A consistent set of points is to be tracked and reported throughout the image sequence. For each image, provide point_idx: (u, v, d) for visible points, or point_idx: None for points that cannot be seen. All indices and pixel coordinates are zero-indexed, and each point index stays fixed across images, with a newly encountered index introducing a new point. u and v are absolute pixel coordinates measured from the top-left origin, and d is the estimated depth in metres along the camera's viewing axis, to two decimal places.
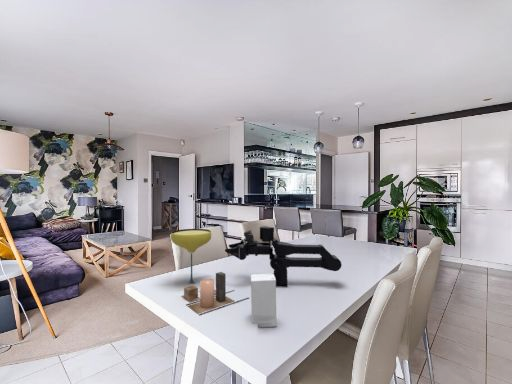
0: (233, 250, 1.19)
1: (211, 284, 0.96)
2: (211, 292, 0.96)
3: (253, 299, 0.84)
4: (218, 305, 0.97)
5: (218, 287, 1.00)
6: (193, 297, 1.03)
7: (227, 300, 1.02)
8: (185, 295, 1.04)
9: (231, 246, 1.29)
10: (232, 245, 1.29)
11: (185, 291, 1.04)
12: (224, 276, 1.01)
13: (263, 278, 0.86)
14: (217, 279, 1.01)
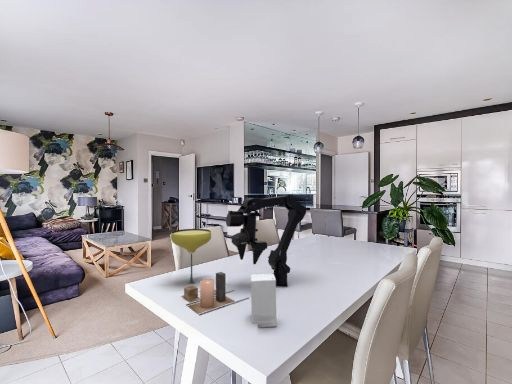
0: (256, 255, 1.11)
1: (211, 284, 0.96)
2: (211, 292, 0.96)
3: (253, 299, 0.84)
4: (218, 305, 0.97)
5: (218, 287, 1.00)
6: (193, 297, 1.03)
7: (227, 300, 1.02)
8: (185, 295, 1.04)
9: (242, 256, 1.19)
10: (241, 255, 1.19)
11: (185, 291, 1.04)
12: (224, 276, 1.01)
13: (263, 278, 0.86)
14: (217, 279, 1.01)
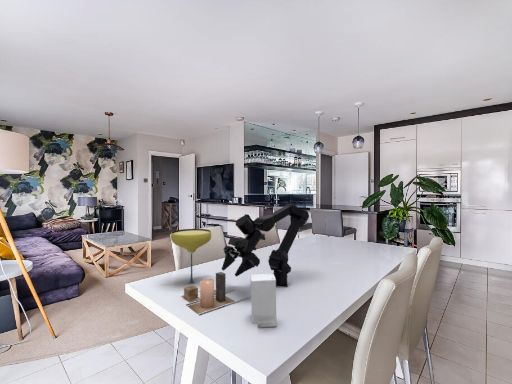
0: (243, 267, 1.01)
1: (211, 284, 0.96)
2: (211, 292, 0.96)
3: (253, 299, 0.84)
4: (218, 305, 0.97)
5: (218, 287, 1.00)
6: (193, 297, 1.03)
7: (227, 300, 1.02)
8: (185, 295, 1.04)
9: (224, 267, 1.08)
10: (224, 265, 1.08)
11: (185, 291, 1.04)
12: (224, 276, 1.01)
13: (263, 278, 0.86)
14: (217, 279, 1.01)
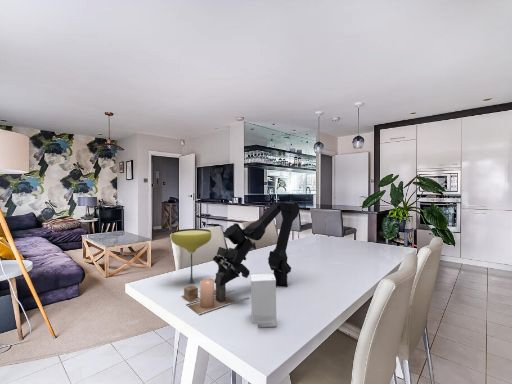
0: (227, 276, 1.00)
1: (211, 284, 0.96)
2: (211, 292, 0.96)
3: (253, 299, 0.84)
4: (218, 305, 0.97)
5: (218, 287, 1.00)
6: (193, 297, 1.03)
7: (227, 300, 1.02)
8: (185, 295, 1.04)
9: None
10: None
11: (185, 291, 1.04)
12: None
13: (263, 278, 0.86)
14: (217, 279, 1.01)
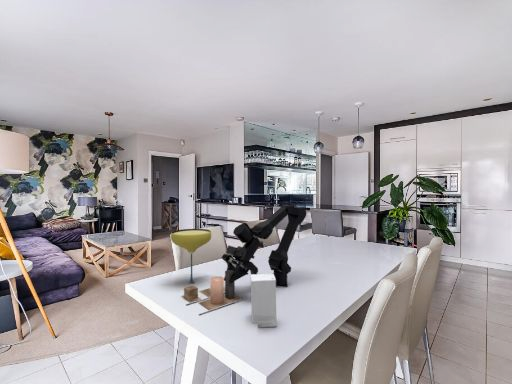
0: (236, 274, 1.03)
1: (221, 281, 0.99)
2: (221, 289, 0.99)
3: (253, 299, 0.84)
4: (228, 302, 1.00)
5: (227, 284, 1.03)
6: (193, 297, 1.03)
7: (236, 297, 1.05)
8: (185, 295, 1.04)
9: None
10: None
11: (185, 291, 1.04)
12: None
13: (263, 278, 0.86)
14: (226, 277, 1.04)
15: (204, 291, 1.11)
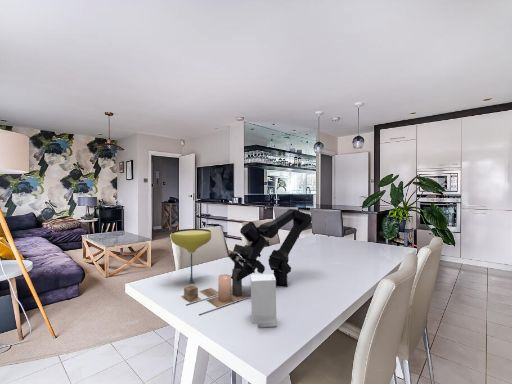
0: (244, 272, 1.05)
1: (229, 279, 1.01)
2: (228, 287, 1.01)
3: (253, 299, 0.84)
4: (235, 299, 1.03)
5: (235, 282, 1.06)
6: (193, 297, 1.03)
7: (243, 295, 1.07)
8: (185, 295, 1.04)
9: None
10: None
11: (185, 291, 1.04)
12: None
13: (263, 278, 0.86)
14: (234, 275, 1.06)
15: (204, 291, 1.11)
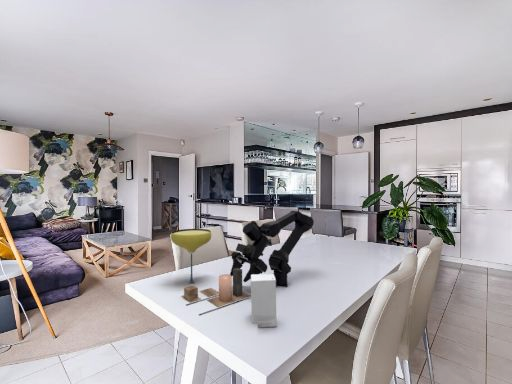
0: (251, 273, 1.04)
1: (229, 279, 1.01)
2: (229, 287, 1.01)
3: (253, 299, 0.84)
4: (236, 299, 1.03)
5: (235, 282, 1.06)
6: (193, 297, 1.03)
7: (243, 295, 1.07)
8: (185, 295, 1.04)
9: None
10: None
11: (185, 291, 1.04)
12: (241, 272, 1.06)
13: (263, 278, 0.86)
14: (234, 275, 1.06)
15: (204, 291, 1.11)
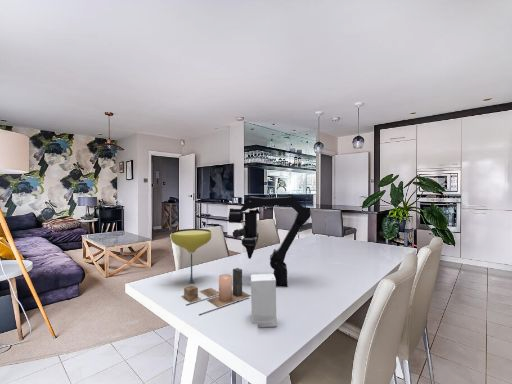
0: (248, 250, 1.18)
1: (229, 279, 1.01)
2: (229, 287, 1.01)
3: (253, 299, 0.84)
4: (236, 299, 1.03)
5: (235, 282, 1.06)
6: (193, 297, 1.03)
7: (243, 295, 1.07)
8: (185, 295, 1.04)
9: None
10: None
11: (185, 291, 1.04)
12: (241, 272, 1.06)
13: (263, 278, 0.86)
14: (234, 275, 1.06)
15: (204, 291, 1.11)
